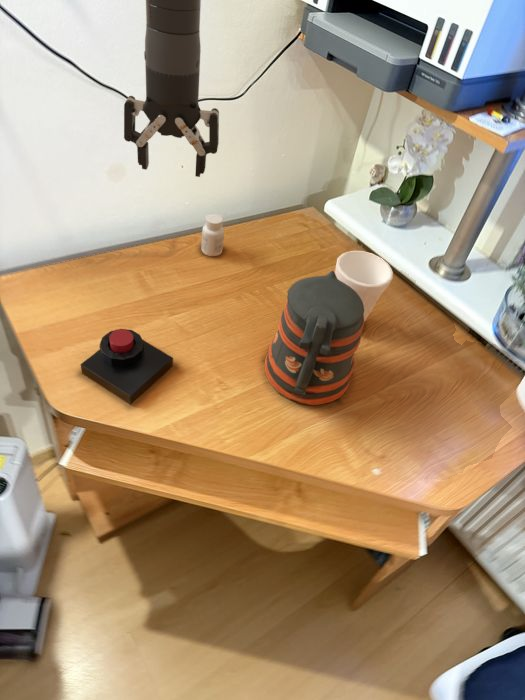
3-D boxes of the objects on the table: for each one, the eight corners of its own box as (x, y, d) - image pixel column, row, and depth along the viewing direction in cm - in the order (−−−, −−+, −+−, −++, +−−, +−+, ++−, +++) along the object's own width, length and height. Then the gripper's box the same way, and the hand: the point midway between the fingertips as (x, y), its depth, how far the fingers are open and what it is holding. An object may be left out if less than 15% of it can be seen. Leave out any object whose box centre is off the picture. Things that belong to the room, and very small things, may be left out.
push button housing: (80, 372, 81) (77, 355, 78) (125, 337, 87) (123, 320, 84) (130, 405, 78) (129, 388, 75) (173, 366, 84) (173, 350, 81)
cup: (368, 308, 102) (389, 253, 92) (374, 344, 95) (397, 289, 85) (318, 301, 101) (334, 246, 91) (321, 338, 94) (338, 282, 84)
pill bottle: (223, 246, 109) (226, 214, 103) (220, 258, 106) (223, 226, 100) (203, 242, 109) (205, 210, 103) (199, 254, 106) (201, 222, 100)
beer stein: (344, 438, 79) (384, 350, 65) (251, 417, 80) (270, 324, 65) (351, 352, 92) (386, 262, 78) (271, 334, 93) (291, 241, 78)
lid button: (105, 346, 80) (104, 338, 79) (121, 333, 83) (120, 326, 82) (122, 357, 79) (122, 349, 78) (138, 344, 82) (138, 336, 81)
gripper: (225, 61, 75) (217, 166, 87) (127, 46, 74) (132, 154, 86) (221, 80, 70) (213, 188, 82) (115, 63, 69) (122, 176, 81)
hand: (171, 170), depth 84 cm, fingers open, 8 cm apart
